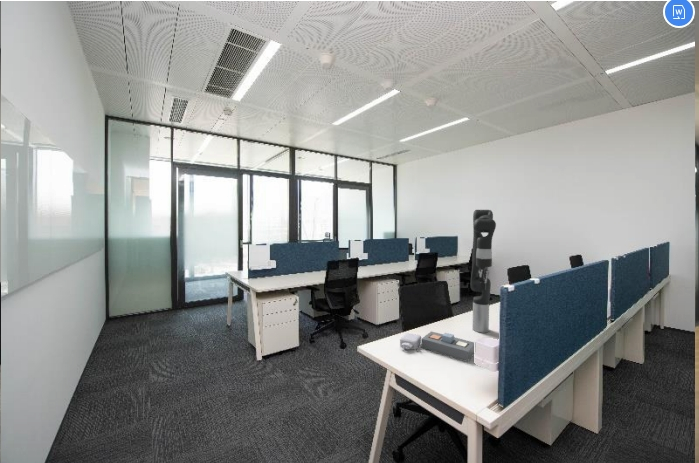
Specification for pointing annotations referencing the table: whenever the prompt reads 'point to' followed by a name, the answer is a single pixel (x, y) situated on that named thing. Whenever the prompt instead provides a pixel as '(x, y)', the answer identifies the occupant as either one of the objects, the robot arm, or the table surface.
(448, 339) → the light blue cube
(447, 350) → the keypad
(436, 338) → the key terracotta
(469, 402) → the table surface
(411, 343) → the charger
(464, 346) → the key ivory
